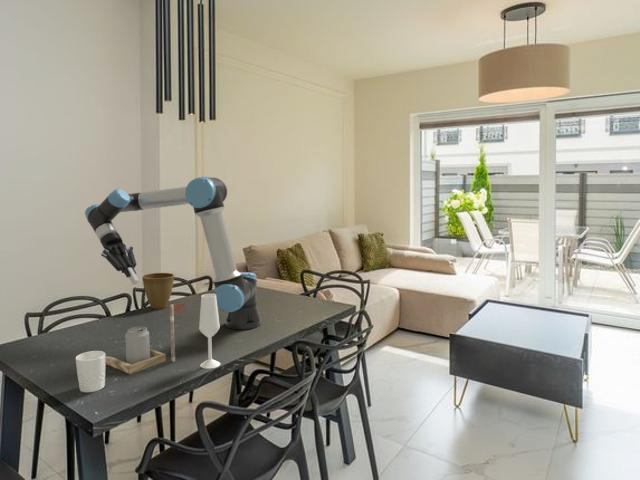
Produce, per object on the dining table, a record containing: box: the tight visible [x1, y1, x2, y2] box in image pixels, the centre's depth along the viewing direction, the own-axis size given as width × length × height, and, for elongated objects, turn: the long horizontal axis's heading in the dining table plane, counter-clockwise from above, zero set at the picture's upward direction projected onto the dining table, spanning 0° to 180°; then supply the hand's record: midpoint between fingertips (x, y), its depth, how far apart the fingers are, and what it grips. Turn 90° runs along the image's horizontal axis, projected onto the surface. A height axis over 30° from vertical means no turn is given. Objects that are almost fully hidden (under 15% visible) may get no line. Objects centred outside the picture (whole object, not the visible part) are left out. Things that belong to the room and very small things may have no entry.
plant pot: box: [141, 272, 175, 310], centre depth 221 cm, size 15×15×16 cm
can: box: [125, 326, 151, 365], centre depth 152 cm, size 8×8×12 cm
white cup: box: [75, 350, 106, 393], centre depth 133 cm, size 8×8×10 cm
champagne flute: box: [198, 293, 221, 369], centre depth 150 cm, size 7×7×24 cm
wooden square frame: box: [105, 301, 185, 375], centre depth 154 cm, size 23×23×20 cm
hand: (135, 282), depth 174 cm, fingers closed
